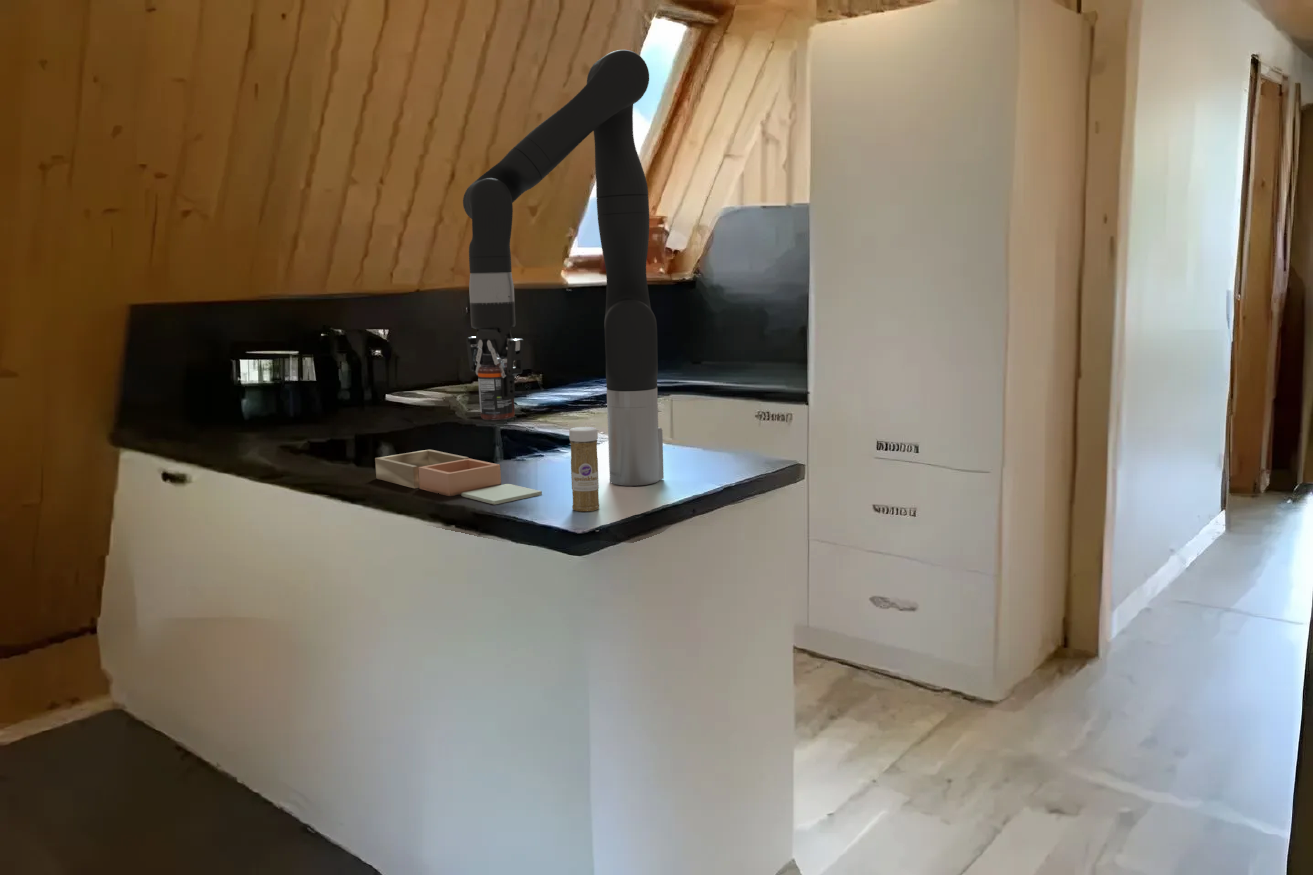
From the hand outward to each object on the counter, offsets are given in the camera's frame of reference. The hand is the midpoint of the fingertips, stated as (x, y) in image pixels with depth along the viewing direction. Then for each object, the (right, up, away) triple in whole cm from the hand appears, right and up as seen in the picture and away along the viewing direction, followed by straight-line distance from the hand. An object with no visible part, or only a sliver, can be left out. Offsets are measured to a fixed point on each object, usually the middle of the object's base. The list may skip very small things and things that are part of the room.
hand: (497, 397), depth 176 cm
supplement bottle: (0, -4, +1) cm, 4 cm away
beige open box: (-17, -15, +20) cm, 30 cm away
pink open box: (-8, -16, +10) cm, 21 cm away
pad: (0, -17, +3) cm, 17 cm away
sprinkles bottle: (+16, -19, -9) cm, 26 cm away
